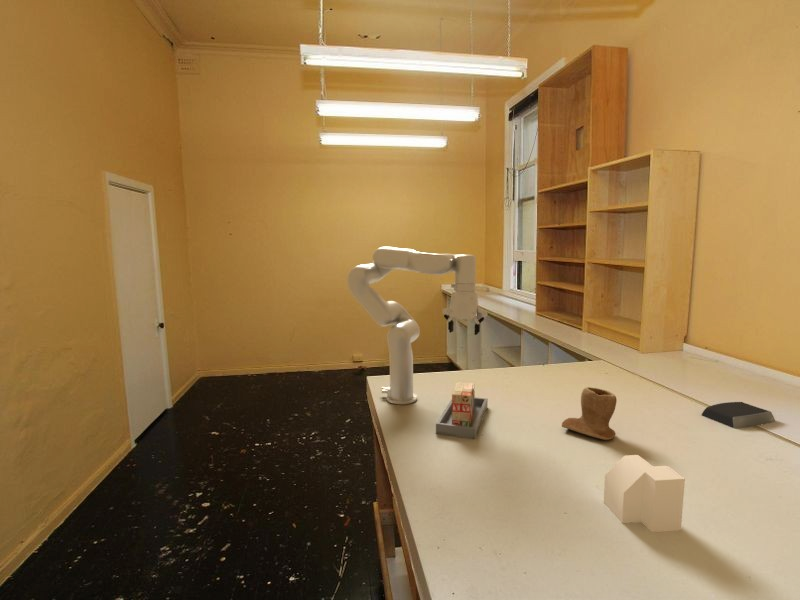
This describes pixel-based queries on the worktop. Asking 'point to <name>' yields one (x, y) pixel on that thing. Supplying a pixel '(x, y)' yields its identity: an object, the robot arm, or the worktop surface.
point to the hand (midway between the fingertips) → (463, 333)
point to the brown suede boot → (594, 414)
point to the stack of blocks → (463, 404)
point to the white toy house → (645, 494)
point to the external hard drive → (738, 414)
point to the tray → (447, 428)
